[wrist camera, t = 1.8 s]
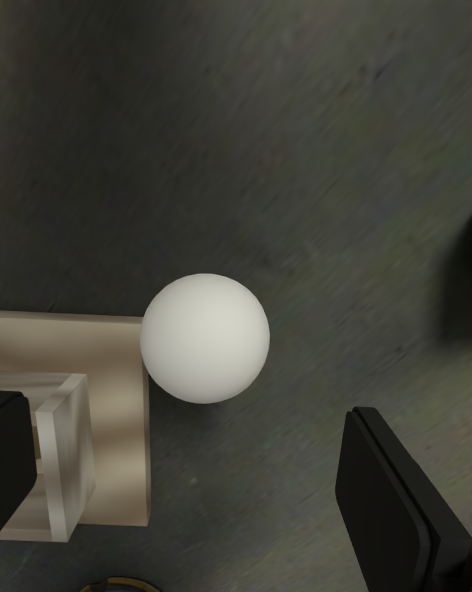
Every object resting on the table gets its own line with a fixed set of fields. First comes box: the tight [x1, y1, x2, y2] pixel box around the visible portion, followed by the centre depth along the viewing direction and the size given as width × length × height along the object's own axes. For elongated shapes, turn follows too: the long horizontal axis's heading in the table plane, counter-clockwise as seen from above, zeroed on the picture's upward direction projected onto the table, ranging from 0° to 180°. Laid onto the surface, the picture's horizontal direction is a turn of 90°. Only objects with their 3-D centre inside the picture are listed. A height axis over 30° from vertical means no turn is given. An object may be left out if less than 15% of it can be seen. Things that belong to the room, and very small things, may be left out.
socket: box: [0, 310, 152, 542], centre depth 23 cm, size 18×18×6 cm
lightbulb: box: [140, 274, 270, 404], centre depth 18 cm, size 6×6×11 cm
